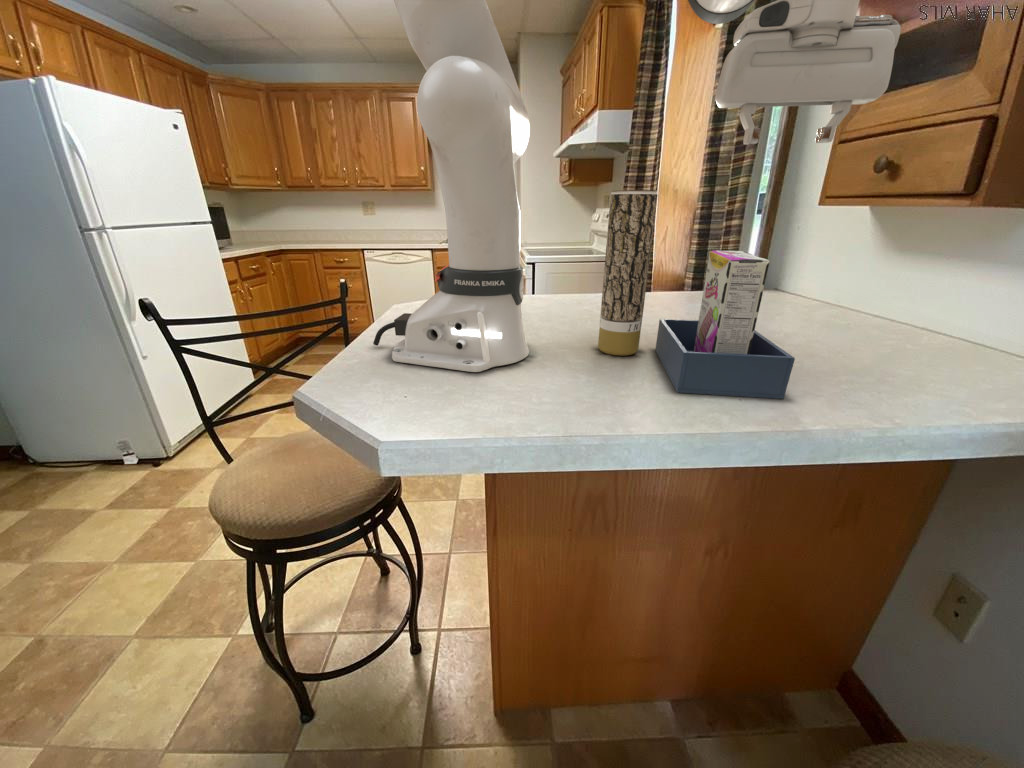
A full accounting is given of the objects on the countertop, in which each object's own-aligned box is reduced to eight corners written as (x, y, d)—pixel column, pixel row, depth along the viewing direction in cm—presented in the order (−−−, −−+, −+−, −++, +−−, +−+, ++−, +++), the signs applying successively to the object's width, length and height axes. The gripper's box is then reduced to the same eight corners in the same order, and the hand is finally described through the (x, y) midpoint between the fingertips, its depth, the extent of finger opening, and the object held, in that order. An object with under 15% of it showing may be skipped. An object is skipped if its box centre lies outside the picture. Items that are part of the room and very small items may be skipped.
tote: (677, 392, 56) (683, 352, 54) (655, 350, 73) (659, 318, 71) (783, 399, 54) (795, 358, 52) (736, 354, 71) (743, 321, 69)
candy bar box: (690, 355, 69) (708, 249, 62) (722, 357, 68) (744, 250, 61) (705, 380, 59) (729, 257, 52) (744, 383, 58) (773, 258, 51)
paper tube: (593, 354, 71) (607, 190, 61) (601, 343, 77) (615, 192, 67) (635, 359, 69) (656, 189, 59) (640, 347, 74) (659, 191, 65)
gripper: (888, 24, 55) (854, 145, 60) (722, 32, 58) (704, 147, 63) (924, 2, 49) (883, 138, 55) (738, 12, 52) (716, 141, 57)
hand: (786, 143), depth 59 cm, fingers open, 8 cm apart
